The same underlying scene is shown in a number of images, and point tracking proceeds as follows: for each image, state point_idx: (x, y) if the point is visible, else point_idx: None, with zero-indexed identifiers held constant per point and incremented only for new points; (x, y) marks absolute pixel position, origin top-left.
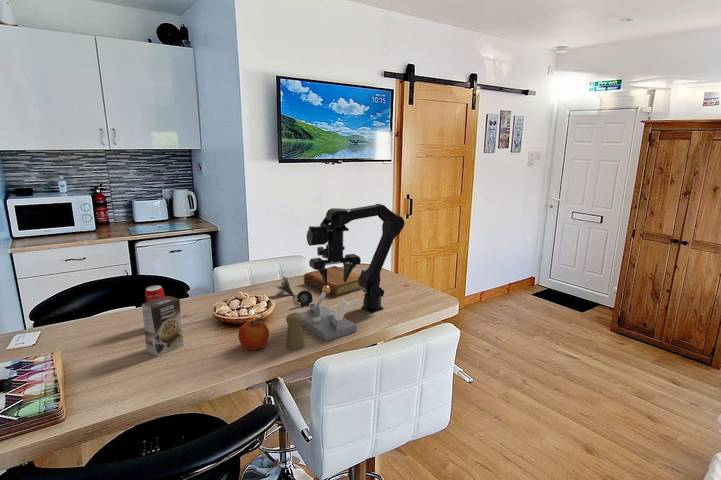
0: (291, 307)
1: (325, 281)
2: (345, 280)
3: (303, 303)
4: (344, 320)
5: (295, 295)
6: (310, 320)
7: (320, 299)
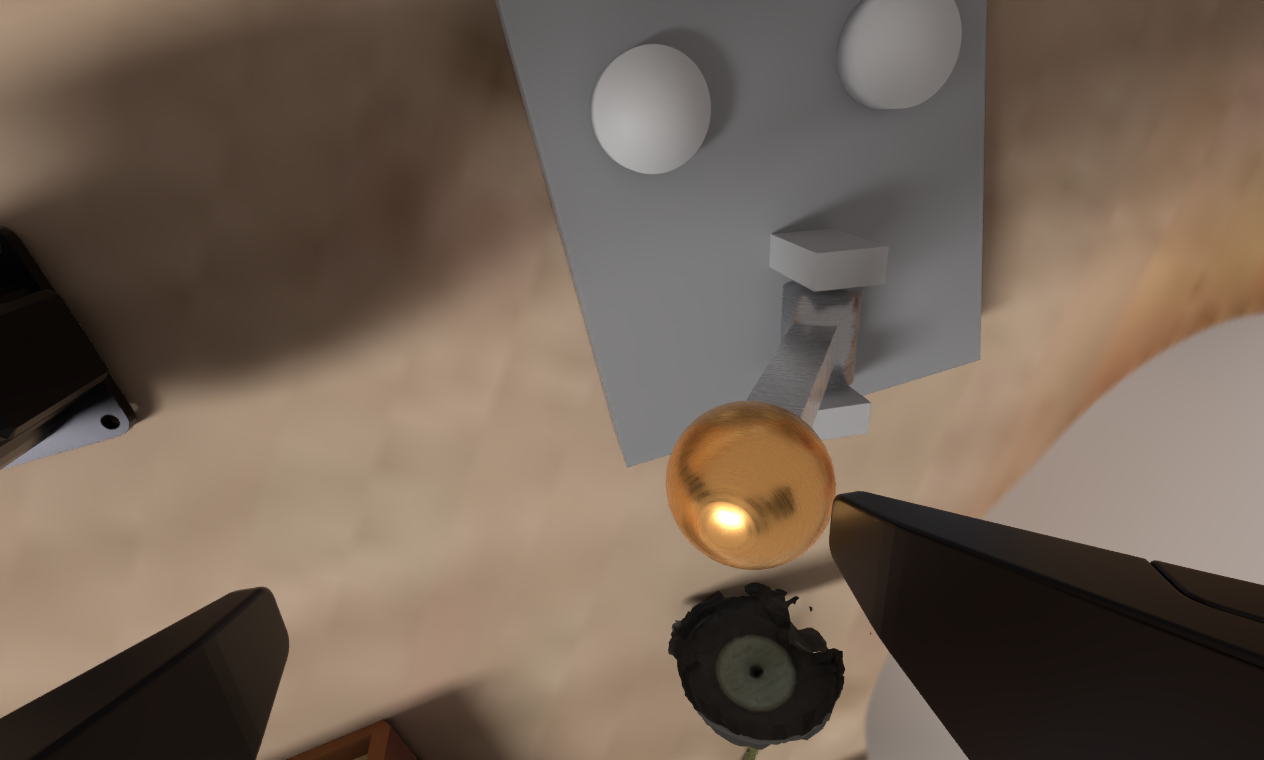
0: (842, 592)
1: (963, 519)
2: (222, 612)
3: (745, 623)
4: None
5: None
6: (931, 116)
7: (807, 366)
